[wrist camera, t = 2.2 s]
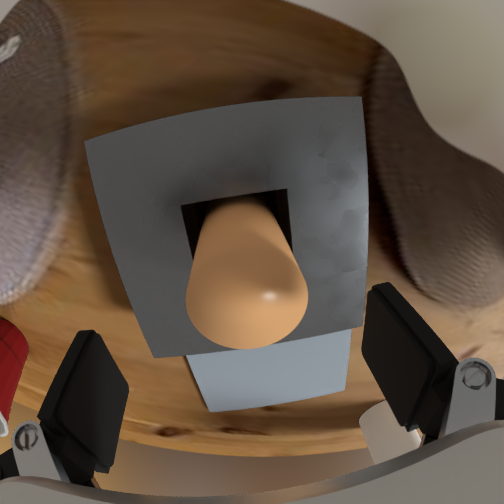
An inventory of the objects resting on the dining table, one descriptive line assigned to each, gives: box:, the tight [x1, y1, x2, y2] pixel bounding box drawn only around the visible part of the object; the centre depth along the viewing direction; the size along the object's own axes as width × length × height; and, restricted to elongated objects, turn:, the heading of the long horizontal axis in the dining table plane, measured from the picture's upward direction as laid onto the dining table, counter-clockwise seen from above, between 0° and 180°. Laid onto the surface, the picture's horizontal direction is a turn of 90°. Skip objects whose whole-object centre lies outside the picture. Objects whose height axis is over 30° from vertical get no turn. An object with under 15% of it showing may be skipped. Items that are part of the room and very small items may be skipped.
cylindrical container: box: [359, 400, 421, 465], centre depth 24 cm, size 7×7×25 cm
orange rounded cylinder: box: [186, 192, 308, 349], centre depth 17 cm, size 5×5×11 cm
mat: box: [186, 329, 352, 412], centre depth 28 cm, size 16×12×1 cm
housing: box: [84, 96, 368, 358], centre depth 19 cm, size 16×16×5 cm
